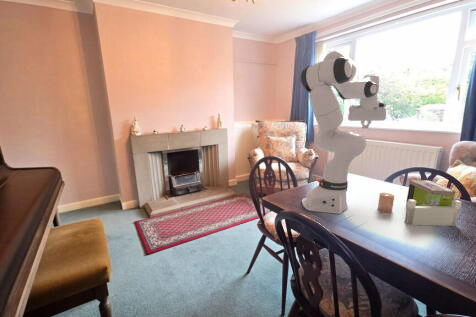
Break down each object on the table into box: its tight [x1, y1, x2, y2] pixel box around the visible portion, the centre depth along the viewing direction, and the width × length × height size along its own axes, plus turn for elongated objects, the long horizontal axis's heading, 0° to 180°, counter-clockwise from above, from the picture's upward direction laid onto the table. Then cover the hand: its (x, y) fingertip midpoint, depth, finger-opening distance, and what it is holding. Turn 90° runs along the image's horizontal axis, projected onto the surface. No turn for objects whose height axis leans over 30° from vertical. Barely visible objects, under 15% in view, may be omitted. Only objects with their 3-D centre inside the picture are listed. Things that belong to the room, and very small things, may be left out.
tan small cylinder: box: [377, 192, 395, 214], centre depth 112 cm, size 6×6×8 cm
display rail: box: [404, 199, 462, 227], centre depth 98 cm, size 20×2×11 cm, turn 86°
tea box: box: [405, 179, 457, 208], centre depth 107 cm, size 15×10×15 cm
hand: (365, 128), depth 135 cm, fingers closed
